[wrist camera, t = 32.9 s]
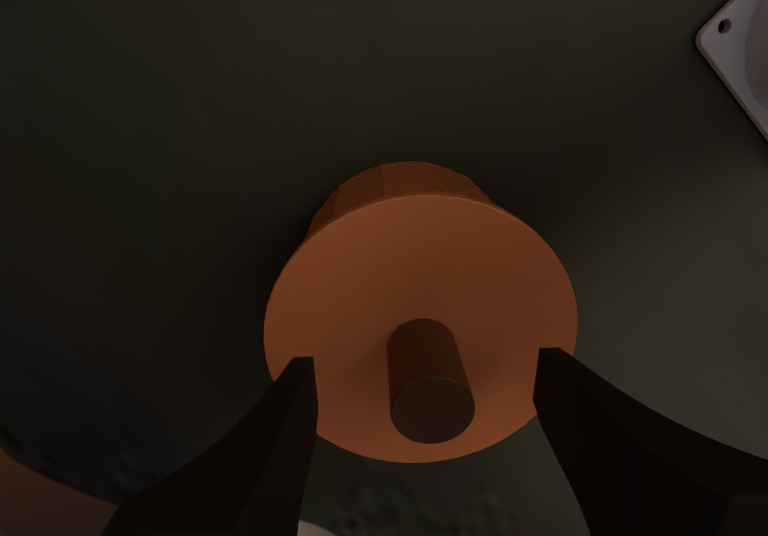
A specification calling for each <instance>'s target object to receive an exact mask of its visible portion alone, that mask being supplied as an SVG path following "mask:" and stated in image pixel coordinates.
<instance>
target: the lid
mask: <svg viewBox="0 0 768 536" xmlns="http://www.w3.org/2000/svg"><path fill="white" fill-rule="evenodd" d="M577 322H578V317H577V308H576V300H575V296H574V292H573V289H572V285H571V282H570V280H569V278H568V275H567V273H566V271H565V269H564V267H563V265H562V263H561V262H560V260H559V259H558V257H557V256H556V254H555V253H554V251H553V250H552V249H551V248H550V247H549V246H548V244H547V243H546V242H545V241H544V240H543V239H542V238H541V237H540V236H539V235H538V234H537V233H536V232H535V231H534V230H533V229H532V228H530V227H529V226H528V225H527V224H525V223H524V222H523V221H522V220H521V219H519V218H517V217H516V216H514V215H512V214H511V213H509V212H507V211H506V210H504V209H502V208H500V207H498V206H495V205H493V204H491V203H488V202H486V201H483V200H481V199H477V198H473V197H469V196H465V195H462V194H455V193H447V192H439V191H414V192H406V193H399V194H392V195H388V196H384V197H380V198H377V199H373V200H369V201H367V202H364V203H362V204H359V205H357V206H355V207H352V208H350V209H348V210H346V211H344V212H342V213H341V214H339V215H337V216H335V217H334V218H332V219H330V220H329V221H327V222H326V223H325V224H323V225H322V226H321V227H319V228H318V229H317V230H316V231H314V232H313V233H312V234H311V235H310V236H309V237H308V238H307V239H306V240H305V241H304V242H303V243H302V244H301V245H300V246H299V247H298V248H297V249H296V251H295V252H294V253H293V255H292V256H291V257H290V259H289V260H288V261H287V263H286V264H285V266H284V268H283V270H282V271H281V273H280V275H279V277H278V279H277V281H276V283H275V285H274V288H273V291H272V293H271V296H270V299H269V302H268V305H267V310H266V315H265V321H264V347H265V355H266V360H267V364H268V367H269V371H270V374H271V376H272V379H273V381H274V382H275V381H276V379H277V378H278V377H279V375H280V374H281V373H282V371H283V370H284V369H285V367H286V366H287V365H288V363H289V362H290V360H291V359H292V358H293V357H310V356H313V361H314V370H315V379H316V388H317V398H318V407H319V408H318V420H317V431H316V433H317V434H318V435H320V436H321V437H323V438H324V439H326V440H328V441H330V442H331V443H333V444H335V445H337V446H339V447H341V448H344V449H346V450H348V451H351V452H353V453H356V454H359V455H363V456H366V457H370V458H374V459H379V460H385V461H391V462H404V463H421V462H433V461H442V460H447V459H452V458H456V457H461V456H464V455H467V454H470V453H473V452H476V451H479V450H481V449H484V448H486V447H488V446H491V445H493V444H495V443H497V442H499V441H500V440H502V439H504V438H506V437H508V436H509V435H511V434H512V433H514V432H515V431H516V430H518V429H519V428H521V427H522V426H524V425H525V424H526V423H527V422H528V421H529V420H530V419H532V418H533V417H534V416H535V415H536V414H537V412H536V409H535V406H534V402H533V392H534V384H535V377H536V369H537V362H538V354H539V348H550V347H559V348H561V349H562V350H564V351H565V352H567V353H568V354H569V355H571V356H573V353H574V348H575V343H576V338H577Z"/></svg>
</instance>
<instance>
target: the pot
mask: <svg viewBox="0 0 768 536" xmlns="http://www.w3.org/2000/svg"><path fill="white" fill-rule="evenodd" d="M414 191H439V192H447V193H455V194H462V195H465V196H469V197H473V198H477V199H481V200H483V201H486V202H488V203H491V204H493V205H495V206H498V205H497V204H496V203H495V202H494V201H493V200H491V199H490V198H489V197H488V196H487V195H486V194H485V193H484V192H483V191H482V190H481V189H480V188H479V187H478V186H477V185H475V184H474V183H473V182H472V181H471V180H470V179H469V178H468V177H467V176H465V175H462V174H459V173H457V172H455V171H453V170H450V169H448V168H446V167H443V166H439V165H436V164H432V163H428V162H418V161H401V162H394V163H387V164H383V165H379V166H376V167H373V168H370V169H368V170H366V171H363V172H361V173H359V174H357V175H356V176H354V177H352V178H351V179H349V180H347V181H346V182H345V183H343V184H341V185H340V186H339V187H338V188H337V189H336V190H335V191H334V192H333V193H332V194H331V195H330V196H329V197H328V198H327V200H326V201H325V203H324V204H323V205H322V207H321V208H320V209H319V210H318V212H317V213H316V214H315V215H314V217H313V219H312V222H311V224H310V227H309V229H308V232H307V235H306V237H305V240H306V239H307V238H308V237H309V236H310V235H311V234H312V233H313V232H314V231H316V230H317V229H318V228H319V227H321V226H322V225H323V224H325V223H326V222H327V221H329V220H330V219H332V218H334V217H335V216H337V215H339V214H341V213H342V212H344V211H346V210H348V209H350V208H352V207H355V206H357V205H359V204H362V203H364V202H367V201H369V200H373V199H377V198H380V197H384V196H388V195H392V194H399V193H406V192H414ZM305 240H304V241H305Z"/></svg>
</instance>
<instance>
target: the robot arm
mask: <svg viewBox="0 0 768 536" xmlns="http://www.w3.org/2000/svg"><path fill="white" fill-rule="evenodd" d="M721 21H723V22H724V29H723V30H722V32H721V33H719V31H718V25H719V24H720V22H721ZM696 46H697V48H698V49H699V51H700V52H701V53H702V55H703V56H704V57H705V59H706V60H707V61H708V63H709V64H710V65H711V67H712V68H713V69H714V71H715V72H716V73H717V75H718V76H719V77H720V79H721V80H722V81H723V83H724V84H725V85H726V87H727V88H728V89H729V91H730V92H731V93H732V95H733V96H734V97H735V99H736V100H737V101H738V102H739V104H740V105H741V106H742V108H743V109H744V110H745V112H746V113H747V114H748V116H749V117H750V118H751V120H752V121H753V122H754V124H755V125H756V126H757V128H758V129H759V130H760V132H761V133H762V134H763V136H764V137H765V138H766V140H767V141H768V0H729V1H728V2H727V3H726V4H725V5H724V6H723V7H722V8H721V9H720V10H719V11H718V12H717V13H716V14H715V15H714V16H713V17H712V18H711V19H710V20H709V21H708V22H707V23H706V24H705V25H704V26H703V27H702V28H701V29H700V30H699V32H698V33H697V36H696ZM533 402H534V406H535V409H536V412H537V415H538V418H539V421H540V423H541V426H542V429H543V431H544V433H545V435H546V437H547V439H548V441H549V443H550V445H551V447H552V449H553V451H554V453H555V455H556V457H557V459H558V461H559V463H560V465H561V467H562V469H563V471H564V473H565V475H566V477H567V479H568V481H569V483H570V485H571V487H572V489H573V491H574V494H575V496H576V498H577V500H578V503H579V505H580V507H581V510H582V513H583V515H584V518H585V521H586V523H587V526H588V528H589V531H590V534H591V536H768V460H766V459H763V458H760V457H757V456H755V455H752V454H749V453H747V452H744V451H741V450H739V449H736V448H733V447H731V446H728V445H726V444H723V443H721V442H718V441H716V440H713V439H711V438H709V437H707V436H704V435H702V434H700V433H698V432H695V431H693V430H691V429H689V428H687V427H685V426H683V425H681V424H678V423H676V422H674V421H673V420H671V419H669V418H667V417H665V416H663V415H661V414H659V413H658V412H656V411H654V410H652V409H650V408H648V407H647V406H645V405H643V404H642V403H640V402H638V401H637V400H635V399H634V398H632V397H630V396H629V395H627V394H625V393H624V392H622V391H621V390H619V389H618V388H616V387H615V386H613V385H612V384H610V383H609V382H607V381H606V380H604V379H603V378H602V377H600V376H599V375H597V374H596V373H595V372H593V371H592V370H590V369H589V368H588V367H586V366H585V365H583V364H582V363H581V362H579V361H578V360H576V359H575V358H574V357H572V356H571V355H569V354H568V353H567V352H565V351H564V350H562V349H561V348H559V347H550V348H539V354H538V362H537V369H536V377H535V384H534V392H533ZM318 408H319V407H318V398H317V388H316V379H315V370H314V361H313V356H310V357H293V358H292V359H291V360H290V362H289V363H288V365H287V366H286V367H285V369H284V370H283V371H282V373H281V374H280V375H279V377H278V378H277V379H276V381H275V382H274V383H273V384H272V386H271V387H270V388H269V389H268V390H267V392H266V393H265V394H264V395H263V396H262V398H261V399H260V400H259V401H258V402H257V403H256V404H255V405H254V407H253V408H252V409H251V410H250V411H249V412H248V413H247V414H246V415H245V416H244V417H243V418H242V419H241V420H240V421H239V422H238V423H237V424H236V425H235V426H234V427H233V428H232V429H231V430H230V431H229V432H228V433H226V434H225V435H224V436H223V437H222V438H221V439H220V440H218V441H217V442H216V443H214V444H213V445H212V446H211V447H209V448H208V449H207V450H205V451H204V452H203V453H201V454H200V455H199V456H198V457H196V458H195V459H193V460H192V461H191V462H189V463H188V464H186V465H185V466H183V467H182V468H180V469H179V470H177V471H176V472H174V473H172V474H171V475H169V476H168V477H166V478H164V479H163V480H161V481H159V482H158V483H156V484H154V485H152V486H150V487H149V488H147V489H145V490H143V491H141V492H139V493H138V494H136V495H134V496H132V497H130V498H128V499H126V500H124V501H122V503H121V504H120V506H119V507H118V509H117V510H116V512H115V513H114V515H113V516H112V517H111V519H110V521H109V522H108V524H107V526H106V527H105V529H104V531H103V532H102V534H101V536H297V531H298V523H299V515H300V510H301V504H302V499H303V494H304V490H305V485H306V481H307V476H308V472H309V467H310V462H311V458H312V453H313V448H314V444H315V439H316V431H317V420H318Z"/></svg>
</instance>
